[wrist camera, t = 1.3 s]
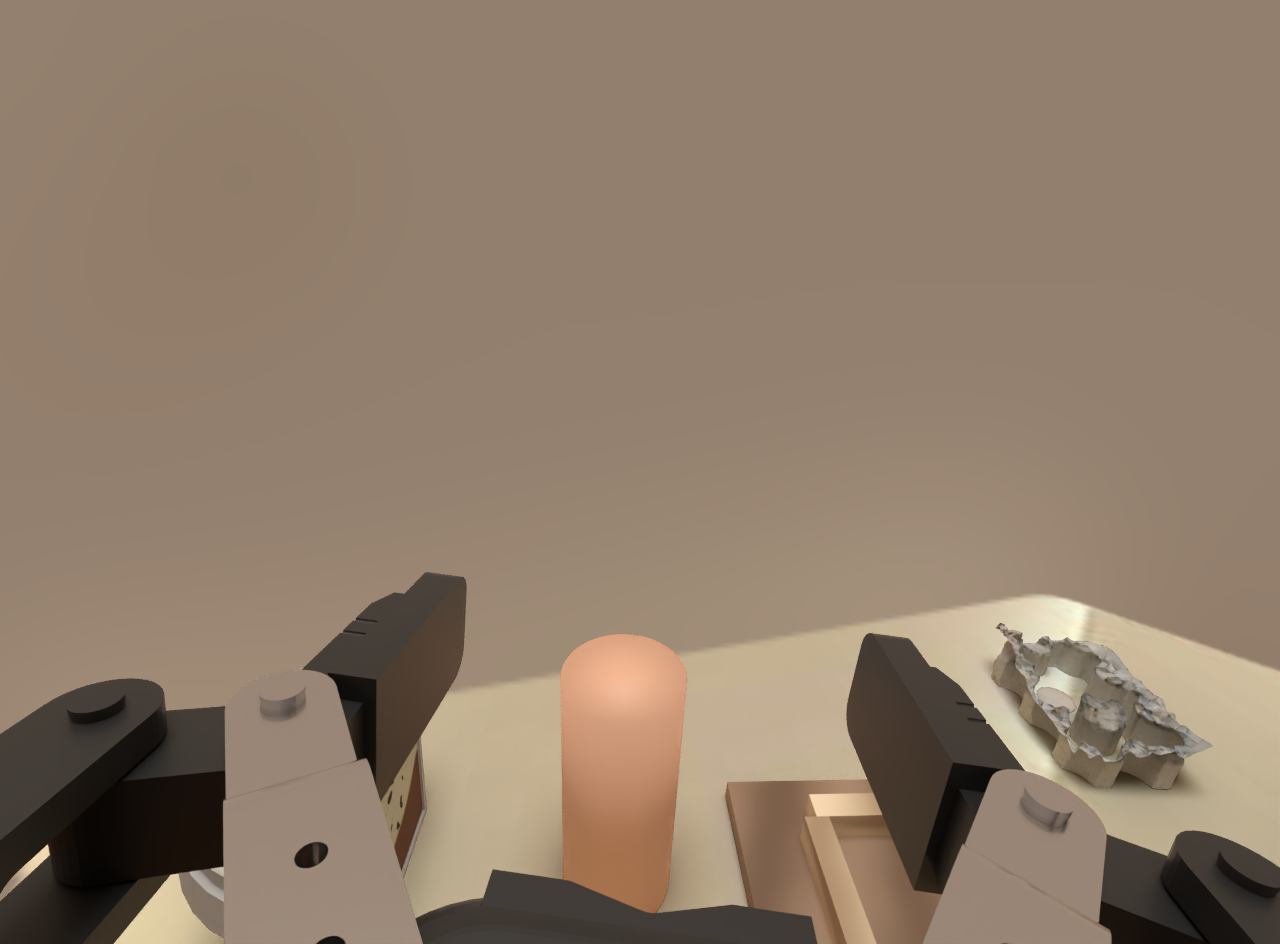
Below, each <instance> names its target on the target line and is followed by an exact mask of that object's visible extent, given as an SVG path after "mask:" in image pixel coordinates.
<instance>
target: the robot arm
mask: <svg viewBox="0 0 1280 944" xmlns="http://www.w3.org/2000/svg"><path fill="white" fill-rule="evenodd" d="M465 608H466V581H465V578H464V577H459V576H452V575H444V574H437V573H429V572H426V573H424V574H423V575H422V576H421V577H420V578H419V580H417V581H416V583H415V584H414V585H413V586H412V587H411V588H410V589H409V590H408V591H407V592H406V593H405V594H401V593H393V594H391V595H389V596H386V597H384V598H382V599H380V600H378V601H376V602H374V603H371V604H370V605H369V606H368V607H367V608H366V609H365V610H364V611H363V612H362V613H361V614H360V615H359V616H358V617H357V618H356V621H352V622H351V623H350V624H349V625H348V626H347V627H346V628H345V629H344V630H343V633H340V634H339V635H338V636H337V637H335V639H333V640H332V641H331V642H330V643H329V644H328V645H327V646H326V647H325V648H324V649H323V650H322V651H321V652H320V653H319V654H318V655H316V656H315V657H314V658H313V659H312V660H311V661H310V662H309V663H308V664H307V665H306V666H305V667H304V668H303V669H302V670H289V671H283V672H278V673H274V674H270V675H267V676H264V677H261V678H259V679H257V680H254V681H252V682H250V683H248V684H246V685H245V686H243V687H242V688H240V689H239V690H238V691H237V692H236V693H234V694H233V695H232V697H231V698H230V699H229V700H228V702H227V704H226V706H223V707H211V708H198V709H184V710H170V711H166V708H165V699H164V692H163V689H162V688H161V687H160V686H159V685H157V684H156V683H154V682H152V681H148V680H143V679H117V680H109V681H104V682H100V683H95V684H91V685H87V686H84V687H81V688H78V689H75V690H73V691H70V692H68V693H66V694H63V695H61V696H59V697H57V698H55V699H53V700H52V701H50V702H49V703H47V704H45V705H43V706H42V707H40V708H39V709H37V710H36V711H34V712H33V713H31V714H30V715H28V716H27V717H26V718H24V719H22V720H21V721H20V722H18V723H17V724H15V725H13V726H12V727H10V728H9V729H7V730H6V731H4V732H3V733H2V734H0V893H1V892H2V890H3V888H4V887H5V886H6V884H7V883H8V881H9V880H10V879H11V878H12V877H13V876H14V875H15V874H16V873H17V872H18V871H19V870H20V869H21V868H22V867H23V866H24V865H25V864H26V863H27V862H28V861H30V860H31V859H32V858H33V857H34V856H35V855H36V854H37V853H38V852H40V851H41V850H42V849H43V848H44V847H45V846H46V845H47V844H48V847H49V853H50V856H49V857H48V858H46V859H45V860H44V861H43V862H42V863H41V864H40V865H39V866H38V867H37V868H36V869H35V870H34V871H32V872H31V873H30V874H29V875H28V876H27V877H26V878H25V879H24V880H23V881H22V882H21V883H20V884H18V885H17V886H16V887H15V888H14V889H13V890H12V891H11V892H10V893H9V894H8V895H7V896H5V898H3V899H2V900H1V901H0V944H114V942H115V941H116V940H117V939H118V938H119V936H120V935H121V934H122V933H123V932H124V930H125V929H126V928H127V927H128V925H129V924H130V923H131V922H132V921H133V919H134V918H135V917H136V916H137V915H138V913H139V912H140V911H141V910H142V909H143V907H144V906H145V905H146V904H147V903H148V901H149V900H150V899H151V898H152V897H153V895H154V894H155V893H156V892H157V890H158V889H159V888H160V887H161V886H162V884H163V883H164V882H165V881H166V880H167V878H168V877H169V876H170V875H171V874H178V873H185V872H192V871H198V870H205V869H212V868H219V867H224V944H818V943H817V939H816V934H815V930H814V926H813V921H812V917H811V916H805V915H798V914H791V913H784V912H778V911H771V910H764V909H757V908H751V907H744V906H737V905H726V906H717V907H709V908H700V909H691V910H682V911H673V912H664V913H648V912H645V911H642V910H639V909H637V908H634V907H632V906H630V905H627V904H625V903H622V902H620V901H618V900H615V899H613V898H610V897H608V896H605V895H603V894H601V893H598V892H596V891H593V890H591V889H589V888H586V887H584V886H581V885H579V884H577V883H574V882H572V881H568V880H561V879H554V878H547V877H541V876H534V875H527V874H520V873H514V872H507V871H500V870H492V873H491V876H490V879H489V882H488V885H487V889H486V892H485V895H484V898H480V899H472V900H467V901H463V902H459V903H454V904H450V905H447V906H444V907H442V908H439V909H436V910H433V911H430V912H428V913H426V914H424V915H422V916H420V917H418V918H415V916H414V912H413V909H412V906H411V902H410V899H409V896H408V892H407V889H406V886H405V882H404V879H403V876H402V872H401V869H400V865H399V862H398V859H397V855H396V852H395V849H394V845H393V842H392V839H391V835H390V832H389V829H388V825H387V822H386V819H385V815H384V812H383V808H382V805H381V801H382V799H383V797H384V796H385V794H386V792H387V791H388V789H389V787H390V786H391V784H392V782H393V781H394V779H395V777H396V776H397V774H398V773H399V771H400V769H401V768H402V766H403V764H404V763H405V761H406V759H407V758H408V756H409V754H410V753H411V751H412V749H413V748H414V746H415V744H416V743H417V741H418V739H419V738H420V736H421V734H422V733H423V731H424V730H425V728H426V726H427V725H428V723H429V721H430V720H431V718H432V716H433V715H434V713H435V711H436V710H437V708H438V706H439V705H440V703H441V701H442V700H443V698H444V696H445V695H446V693H447V691H448V690H449V688H450V687H451V685H452V683H453V682H454V680H455V678H456V676H457V674H458V671H459V668H460V664H461V660H462V656H463V648H464V632H465ZM847 727H848V732H849V735H850V738H851V740H852V743H853V745H854V748H855V750H856V752H857V755H858V757H859V760H860V762H861V765H862V767H863V769H864V772H865V774H866V777H867V779H868V781H869V784H870V786H871V789H872V791H873V793H874V796H875V798H876V801H877V803H878V806H879V808H880V810H881V813H882V815H883V818H884V820H885V822H886V825H887V827H888V830H889V832H890V834H891V837H892V839H893V842H894V844H895V847H896V849H897V851H898V854H899V856H900V859H901V861H902V863H903V866H904V868H905V871H906V873H907V875H908V878H909V880H910V883H911V885H912V888H913V890H915V891H921V892H928V893H935V894H942V896H941V899H940V901H939V904H938V906H937V909H936V911H935V914H934V916H933V919H932V921H931V924H930V926H929V929H928V931H927V934H926V936H925V939H924V941H923V944H1280V868H1279V867H1278V866H1276V865H1275V864H1274V863H1272V862H1270V861H1269V860H1267V859H1266V858H1264V857H1262V856H1261V855H1259V854H1257V853H1255V852H1253V851H1252V850H1250V849H1248V848H1246V847H1244V846H1242V845H1240V844H1238V843H1235V842H1233V841H1231V840H1228V839H1226V838H1223V837H1220V836H1217V835H1214V834H1210V833H1206V832H1201V831H1184V832H1181V833H1179V834H1178V835H1177V836H1176V838H1175V841H1174V843H1173V845H1172V847H1171V850H1170V852H1169V854H1168V856H1165V855H1163V854H1160V853H1157V852H1154V851H1151V850H1149V849H1146V848H1143V847H1140V846H1137V845H1135V844H1132V843H1129V842H1126V841H1123V840H1121V839H1118V838H1115V837H1112V836H1110V835H1107V834H1106V830H1105V827H1104V825H1103V823H1102V821H1101V820H1100V818H1099V817H1098V816H1097V814H1096V813H1095V812H1094V811H1093V810H1092V809H1091V808H1090V807H1089V806H1088V805H1087V804H1086V803H1085V802H1084V801H1082V800H1081V799H1080V798H1079V797H1077V796H1076V795H1075V794H1073V793H1072V792H1071V791H1069V790H1067V789H1066V788H1064V787H1062V786H1061V785H1059V784H1057V783H1055V782H1053V781H1051V780H1049V779H1047V778H1044V777H1042V776H1039V775H1037V774H1034V773H1030V772H1026V771H1025V770H1024V769H1023V768H1022V766H1021V765H1020V764H1019V762H1018V761H1017V760H1016V759H1015V757H1014V756H1013V755H1012V753H1011V752H1010V751H1009V749H1008V748H1007V747H1006V745H1005V744H1004V743H1003V742H1002V740H1001V739H1000V738H999V736H998V735H997V734H996V732H995V731H994V730H993V729H992V727H991V726H990V725H989V724H986V719H985V718H984V717H983V716H982V714H981V713H980V712H979V710H978V709H977V708H974V704H973V702H972V701H971V700H970V699H969V697H968V696H967V695H966V693H965V692H964V691H963V689H962V688H961V687H960V686H959V685H958V684H957V683H956V682H954V681H953V680H952V679H950V678H949V677H948V676H946V675H945V674H944V673H942V672H941V671H940V670H938V669H937V668H935V667H930V666H929V665H928V663H927V662H926V661H925V659H924V658H923V657H922V655H921V654H920V652H919V651H918V650H917V648H916V647H915V645H914V644H913V643H912V641H911V640H910V639H908V638H902V637H895V636H888V635H880V634H873V633H868V634H867V635H866V636H865V637H864V639H863V642H862V645H861V649H860V653H859V657H858V661H857V665H856V669H855V673H854V677H853V682H852V686H851V690H850V694H849V698H848V703H847Z"/></svg>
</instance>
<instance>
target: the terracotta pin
mask: <svg viewBox="0 0 1280 944" xmlns="http://www.w3.org/2000/svg"><path fill="white" fill-rule="evenodd" d="M686 689H687V673H686V670H685V667H684V665H683V663H682V661H681V660H680V658H679V657H678V656H677V655H676V654H675V653H674V652H673V651H672V650H671V649H669V648H668V647H666V646H665V645H663V644H661V643H659V642H657V641H655V640H653V639H650V638H646V637H642V636H638V635H630V634H615V635H608V636H603V637H599V638H596V639H593V640H591V641H588V642H586V643H585V644H583V645H581V646H579V647H578V648H577V649H575V650H574V651H573V652H572V653H571V654H570V655H569V657H568V658H567V659H566V661H565V663H564V665H563V667H562V671H561V744H562V816H563V880H568V881H572V882H574V883H577V884H579V885H581V886H584V887H586V888H589V889H591V890H593V891H596V892H598V893H601V894H603V895H605V896H608V897H610V898H613V899H615V900H618V901H620V902H622V903H625V904H627V905H630V906H632V907H634V908H637V909H639V910H642V911H645V912H648V913H656V912H657V910H658V909H659V907H660V906H661V904H662V902H663V901H664V898H665V896H666V893H667V889H668V883H669V872H670V861H671V851H672V840H673V829H674V818H675V807H676V797H677V786H678V775H679V764H680V753H681V743H682V732H683V721H684V710H685V700H686Z"/></svg>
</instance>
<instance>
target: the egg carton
mask: <svg viewBox="0 0 1280 944" xmlns="http://www.w3.org/2000/svg"><path fill="white" fill-rule="evenodd" d="M996 628H997V629H1000V631H1001V632H1002V633H1004V636H1006V637H1007V638H1008V641H1007V642H1006V643H1005V645H1004V648H1003V650H1002V653H1001V654H1000V655H998V657H997V659H996V660H995V663H994V668H993V673H992V678H993V680H994V681H995V682H996V684H997V685H998V686H999V687H1004V688H1007V689H1009V690H1012V691H1014V692H1015V693H1017V694H1018V695H1019V696H1021V697H1022V698H1023V700H1022V703H1021V706H1020V708H1019V711H1018V713H1019V714H1020V715H1021V716H1022V717H1023V718H1024V719H1025V720H1026V721H1027V722H1028V723H1029V724H1030V725H1033V726H1036V727H1039V728H1041V729H1043V730H1045V731H1047V732H1048V733H1049V734H1051V735H1052V736H1053V737H1054V738H1055V739H1056V740H1057V743H1056V746H1055V748H1054V750H1053V751H1052V753H1051V756H1052V757H1053V759H1054V760H1055V761H1056V763H1057V764H1058V765H1059V766H1060V767H1061V768H1062V769H1064V770H1068V771H1072V772H1074V773H1076V774H1079V775H1080V776H1082V777H1083V778H1085V779H1086V780H1087V781H1088V782H1090V783H1091V784H1092V785H1093V786H1095V787H1097V788H1111V787H1112V785H1113V783H1114V781H1115V778H1116V777H1117V775H1118V773H1119V771H1122V772H1126V773H1129V774H1131V775H1133V776H1135V777H1137V778H1139V779H1141V780H1142V781H1143V782H1145V783H1146V784H1148V785H1149V786H1150V787H1152V788H1154V789H1170V788H1171V786H1172V783H1173V781H1174V779H1175V778H1176V776H1177V774H1178V772H1179V770H1180V769H1181V767H1182V766H1183V764H1184V758H1187V757H1189V756H1191V755H1192V754H1194V753H1197V752H1200V751H1203V750H1205V749H1208V748H1210V747H1212V744H1210V743H1209V742H1207V741H1205V740H1203V739H1201V738H1200V737H1198V736H1197V735H1195V734H1194V733H1193V732H1192V731H1190V730H1189V729H1188V728H1187V727H1186V726H1181V725H1180V724H1179V723H1178V722H1177V721H1176V718H1175V714H1174V713H1170V712H1167V711H1166V708H1165V704H1164V701H1163V699H1162V698H1160V697H1158V696H1156V695H1154V694H1153V693H1151V692H1150V691H1149V690H1148V689H1147V688H1146V687H1145V685H1144V684H1143V683H1142V682H1141V681H1140V680H1138V679H1137V678H1135V677H1134V676H1133V675H1132V674H1131V673H1130V672H1129V671H1128V669H1127V668H1126V666H1125V665H1124V664H1123V662H1122V661H1121V660H1120V658H1119V657H1118V656H1117V654H1116V653H1114V652H1113V651H1112V650H1111V649H1109V648H1107V647H1105V646H1102V645H1099V644H1095V643H1091V642H1088V641H1073V640H1070V639H1069V638H1068V637H1067V638H1065V639H1064V640H1059V641H1054V640H1050V639H1049V637H1048V636H1045V637H1042V638H1041V639H1039V641H1038V642H1037V643H1023V640H1022V639H1021V637H1022V633H1021V632H1019V631H1015V630H1008V628H1007V627H1005V625H1004V624H1002V623H1000V624H999V625H998V626H997V627H996ZM1047 666H1049V667H1056V668H1058V669H1059V670H1061V671H1062V672H1064V673H1066V674H1068V675H1070V676H1073V677H1077V678H1082V679H1084V680H1085V681H1086V682H1087V683H1088V686H1087V689H1086V691H1085V693H1084V694H1083V695H1082V696H1081V701H1080V706H1079V708H1078V711H1077V713H1076V715H1075V718H1074V720H1073V723H1072V726H1071V728H1070V736H1071V738H1072V739H1073V740H1074V742H1075V743H1076V744H1078V745H1074V744H1073V743H1072V742H1071V740H1070V739H1069V737H1067V736H1066V734H1067V731H1068V729H1069V727H1070V725H1071V723H1070V719H1069V713H1071V712H1073V711H1075V708H1076V705H1075V703H1074V701H1073V699H1072V698H1071V697H1069V696H1068V695H1066V694H1065V693H1063V692H1061V691H1059V690H1057V689H1053V688H1049V687H1045V688H1043V687H1042V688H1041V689H1039V690H1037V694H1036V695H1037V696H1038V698H1039V700H1038V699H1037V698H1036V695H1035V693H1034V688H1035V686H1036V685H1037V683H1038V682H1039V679H1040V676H1042V675H1044V673H1045V670H1046V668H1047ZM1121 736H1123V738H1124V739H1125V741H1126V742H1125V744H1124V745H1122V748H1121V750H1120V752H1119V754H1118V756H1117V758H1116V760H1114V761H1113V760H1107V759H1105V758H1104V757H1103V756H1108V755H1111V754H1112V753H1113V751H1114V750H1115V748H1116V746H1117V743H1118V741H1119V739H1120V738H1121Z"/></svg>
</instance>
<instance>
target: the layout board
mask: <svg viewBox="0 0 1280 944" xmlns="http://www.w3.org/2000/svg"><path fill="white" fill-rule="evenodd" d="M726 800H727V805H728V810H729V814H730V819H731V824H732V829H733V834H734V838H735V843H736V848H737V853H738V858H739V862H740V867H741V872H742V877H743V882H744V886H745V891H746V896H747V901H748V906H749V907H751V908H757V909H764V910H771V911H778V912H784V913H791V914H798V915H805V916H811V917H812V921H813V926H814V930H815V934H816V939H817V943H818V944H923V941H924V939H925V936H926V934H927V931H928V929H929V926H930V924H931V921H932V919H933V916H934V914H935V911H936V909H937V906H938V904H939V901H940V899H941V896H942V894H935V893H928V892H921V891H915V890H913V888H912V885H911V883H910V880H909V878H908V875H907V873H906V871H905V868H904V866H903V863H902V861H901V859H900V856H899V854H898V851H897V849H896V847H895V844H894V842H893V839H892V837H891V834H890V832H889V830H888V827H887V825H886V822H885V820H884V818H883V815H882V813H881V810H880V808H879V806H878V803H877V801H876V798H875V796H874V793H873V791H872V789H871V786H870V784H869V781H868V780H820V781H764V782H727V788H726Z"/></svg>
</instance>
